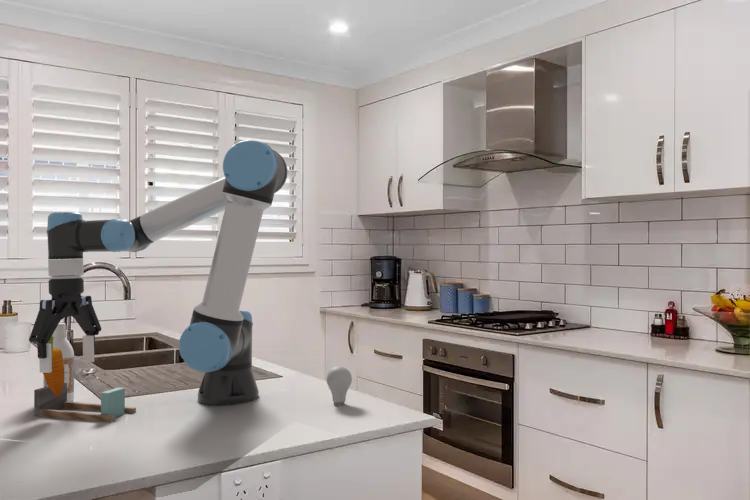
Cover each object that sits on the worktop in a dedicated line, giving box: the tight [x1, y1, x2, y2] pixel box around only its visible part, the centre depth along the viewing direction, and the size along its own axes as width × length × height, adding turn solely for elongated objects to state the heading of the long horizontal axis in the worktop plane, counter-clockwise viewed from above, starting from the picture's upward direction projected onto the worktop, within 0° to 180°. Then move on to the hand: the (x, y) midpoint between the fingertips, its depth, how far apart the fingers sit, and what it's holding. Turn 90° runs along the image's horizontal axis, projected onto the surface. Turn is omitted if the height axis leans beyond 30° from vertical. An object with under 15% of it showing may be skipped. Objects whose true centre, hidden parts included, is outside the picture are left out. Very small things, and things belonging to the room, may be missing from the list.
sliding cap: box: [100, 387, 126, 418], centre depth 146 cm, size 2×6×6 cm, turn 163°
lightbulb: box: [326, 365, 353, 407], centre depth 152 cm, size 6×6×11 cm
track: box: [33, 383, 137, 423], centre depth 148 cm, size 22×8×6 cm, turn 73°
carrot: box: [42, 335, 64, 397], centre depth 147 cm, size 5×5×15 cm
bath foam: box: [43, 322, 75, 402], centre depth 160 cm, size 7×7×20 cm
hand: (68, 367), depth 150 cm, fingers open, 13 cm apart
